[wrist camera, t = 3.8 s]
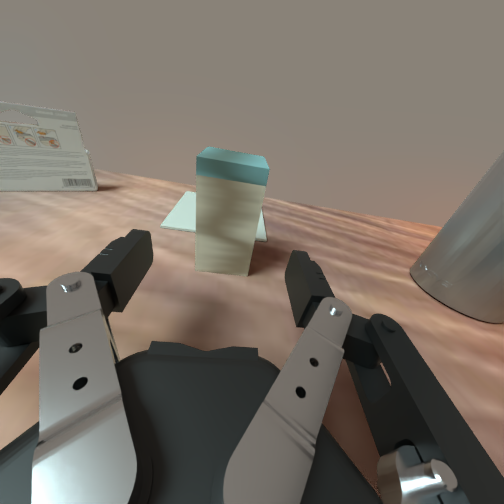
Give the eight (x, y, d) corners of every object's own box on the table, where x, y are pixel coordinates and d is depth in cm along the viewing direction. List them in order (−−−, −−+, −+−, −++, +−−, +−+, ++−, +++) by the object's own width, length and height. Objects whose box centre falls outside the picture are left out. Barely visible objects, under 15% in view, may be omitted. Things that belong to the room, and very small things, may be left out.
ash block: (247, 248, 24) (264, 156, 18) (247, 276, 19) (269, 169, 14) (204, 242, 23) (208, 146, 17) (195, 270, 19) (196, 156, 13)
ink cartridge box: (-9, 185, 26) (-62, 89, 20) (98, 186, 31) (79, 110, 26) (-17, 192, 24) (-78, 89, 18) (98, 192, 29) (77, 112, 24)
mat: (260, 204, 36) (260, 202, 36) (266, 241, 25) (266, 239, 25) (186, 192, 35) (186, 191, 35) (160, 227, 24) (160, 225, 24)
